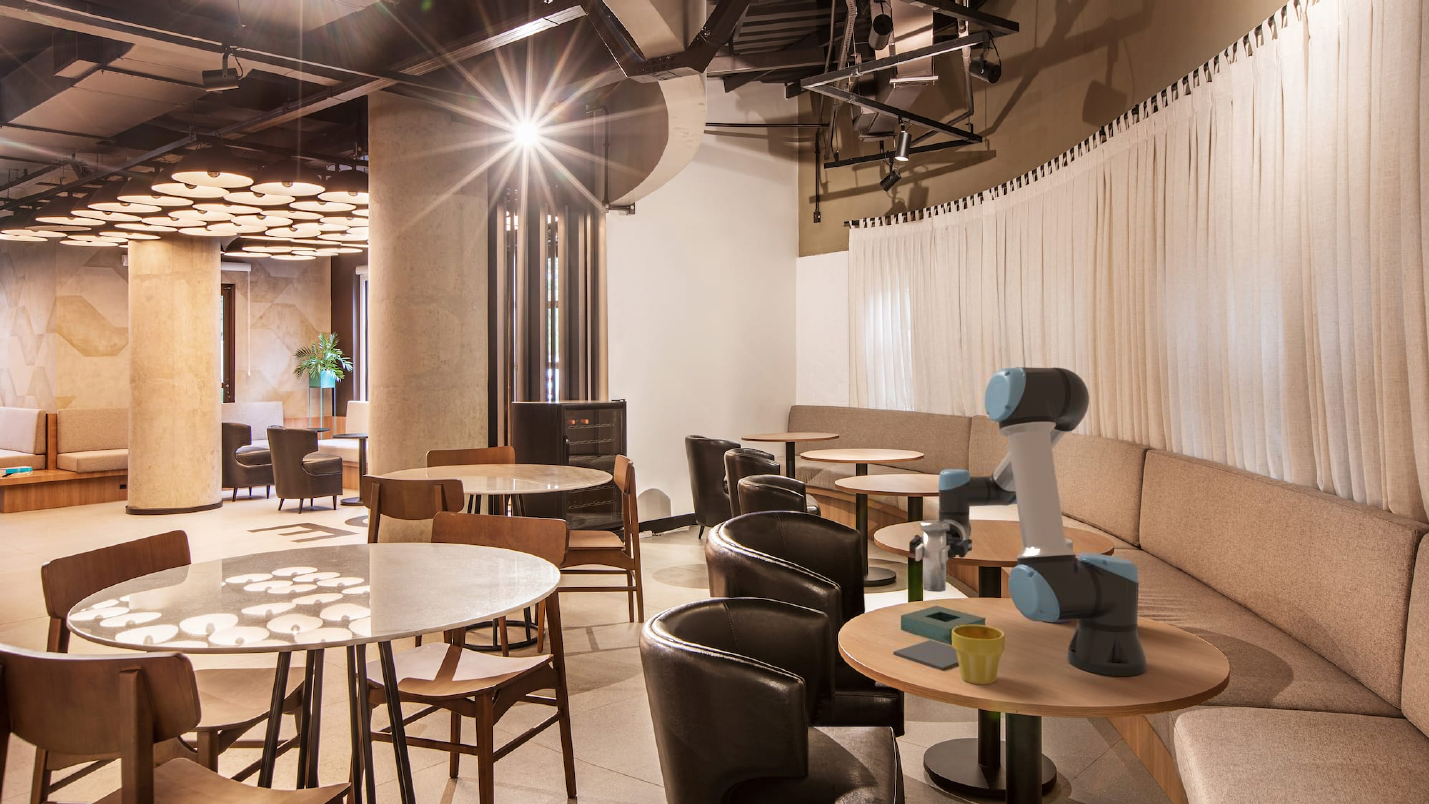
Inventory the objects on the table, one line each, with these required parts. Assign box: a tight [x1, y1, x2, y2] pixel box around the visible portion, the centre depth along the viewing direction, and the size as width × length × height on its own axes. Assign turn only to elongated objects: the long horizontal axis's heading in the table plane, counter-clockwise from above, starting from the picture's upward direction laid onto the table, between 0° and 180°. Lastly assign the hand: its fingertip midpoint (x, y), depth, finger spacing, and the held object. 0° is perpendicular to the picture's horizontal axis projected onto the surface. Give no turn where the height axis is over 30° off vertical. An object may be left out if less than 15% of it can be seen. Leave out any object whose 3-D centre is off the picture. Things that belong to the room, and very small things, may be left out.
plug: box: [919, 520, 949, 593], centre depth 192 cm, size 6×6×15 cm
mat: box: [892, 639, 959, 671], centre depth 187 cm, size 13×13×1 cm
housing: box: [900, 605, 986, 645], centre depth 205 cm, size 14×14×4 cm
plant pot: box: [951, 625, 1006, 685], centre depth 173 cm, size 10×10×10 cm
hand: (930, 555), depth 187 cm, fingers closed on plug, 5 cm apart
